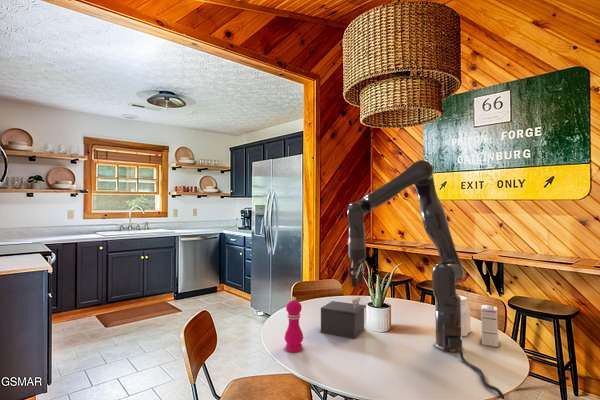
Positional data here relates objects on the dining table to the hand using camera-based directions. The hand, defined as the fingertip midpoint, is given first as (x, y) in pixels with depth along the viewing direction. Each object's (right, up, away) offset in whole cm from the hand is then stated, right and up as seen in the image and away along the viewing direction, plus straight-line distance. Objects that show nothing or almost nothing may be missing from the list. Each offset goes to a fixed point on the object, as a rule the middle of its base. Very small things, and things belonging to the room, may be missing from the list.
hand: (357, 285), depth 151 cm
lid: (-6, -11, +2) cm, 13 cm away
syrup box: (+51, -21, -12) cm, 56 cm away
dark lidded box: (-6, -21, +2) cm, 22 cm away
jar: (+44, -21, +1) cm, 49 cm away
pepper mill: (-28, -21, -17) cm, 38 cm away
